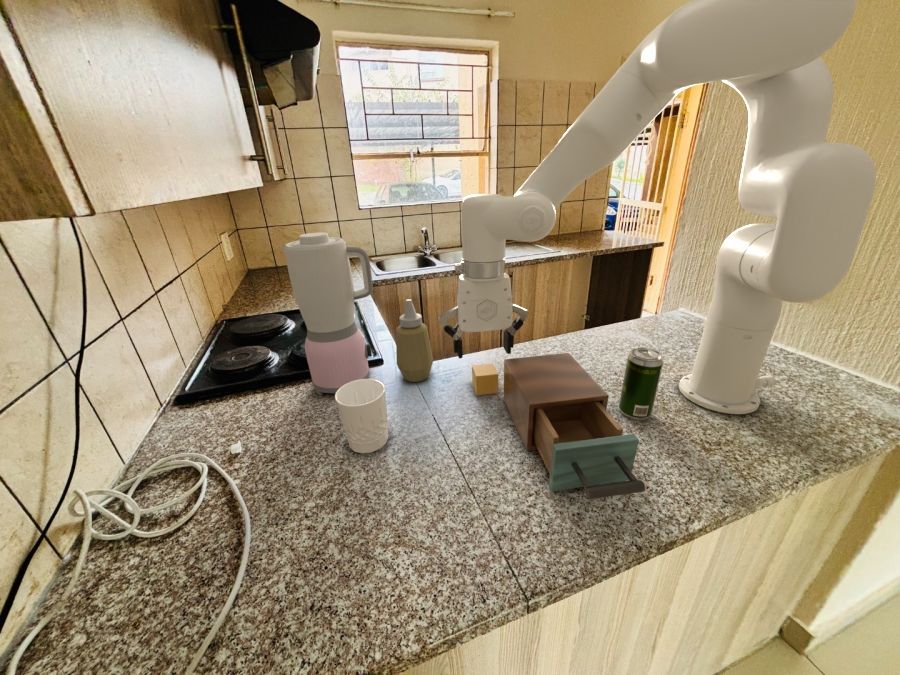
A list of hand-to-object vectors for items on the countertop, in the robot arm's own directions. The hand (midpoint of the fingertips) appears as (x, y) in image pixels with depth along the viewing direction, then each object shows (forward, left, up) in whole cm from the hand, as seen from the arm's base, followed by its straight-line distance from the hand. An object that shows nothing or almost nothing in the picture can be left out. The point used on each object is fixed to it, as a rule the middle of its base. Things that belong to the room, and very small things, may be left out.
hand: (483, 353), depth 72 cm
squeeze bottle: (+14, -8, -9) cm, 18 cm away
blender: (+29, -9, -9) cm, 31 cm away
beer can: (-25, +13, -9) cm, 30 cm away
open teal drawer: (-9, +24, -7) cm, 27 cm away
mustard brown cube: (0, 0, -8) cm, 8 cm away
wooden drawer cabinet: (-9, +12, -8) cm, 17 cm away
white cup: (+23, +12, -9) cm, 27 cm away
